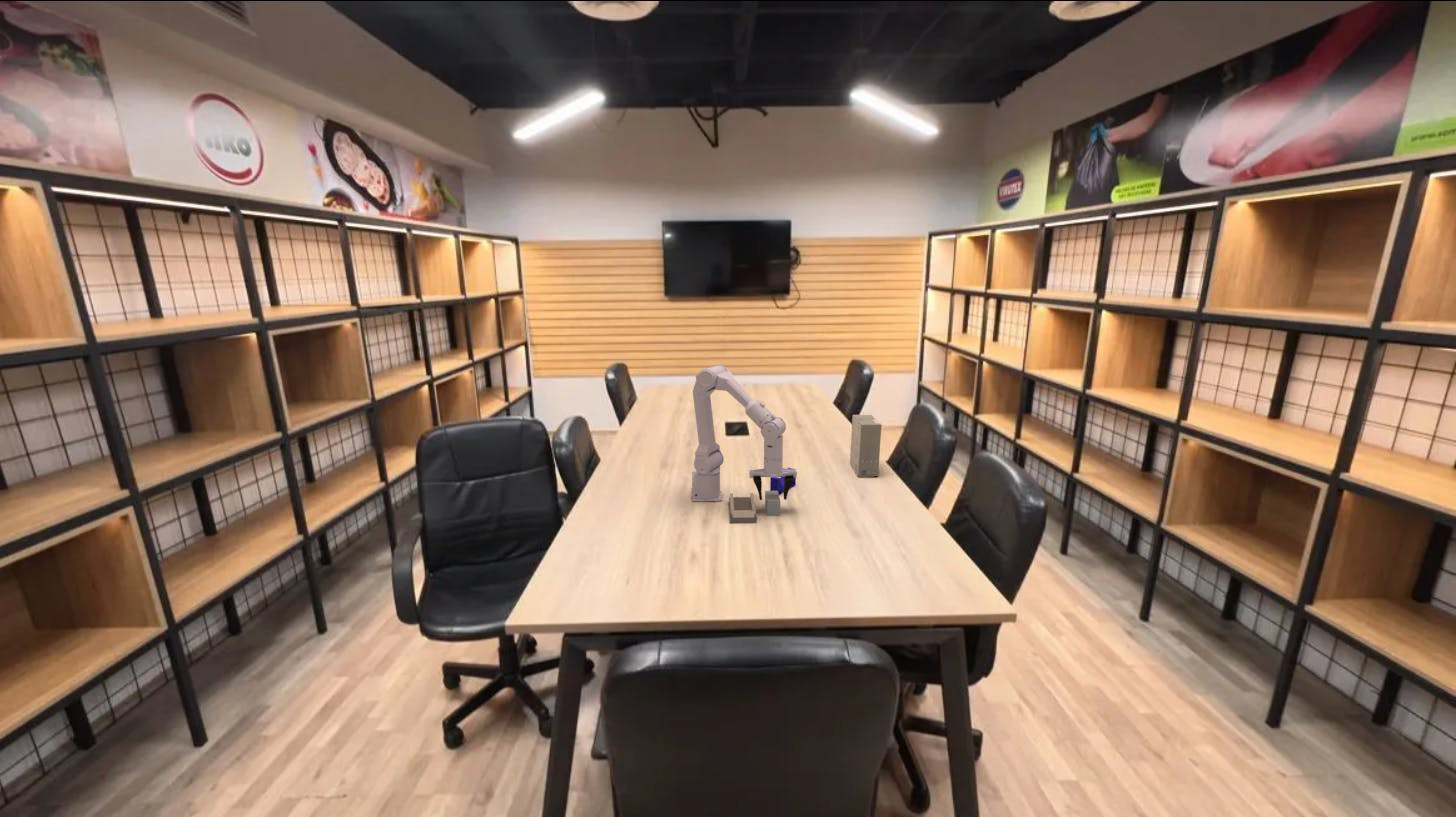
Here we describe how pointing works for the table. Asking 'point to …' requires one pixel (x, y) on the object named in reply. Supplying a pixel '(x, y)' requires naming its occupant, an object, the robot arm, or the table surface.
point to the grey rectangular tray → (742, 509)
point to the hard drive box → (865, 445)
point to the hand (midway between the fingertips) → (772, 498)
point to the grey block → (772, 503)
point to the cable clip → (779, 484)
